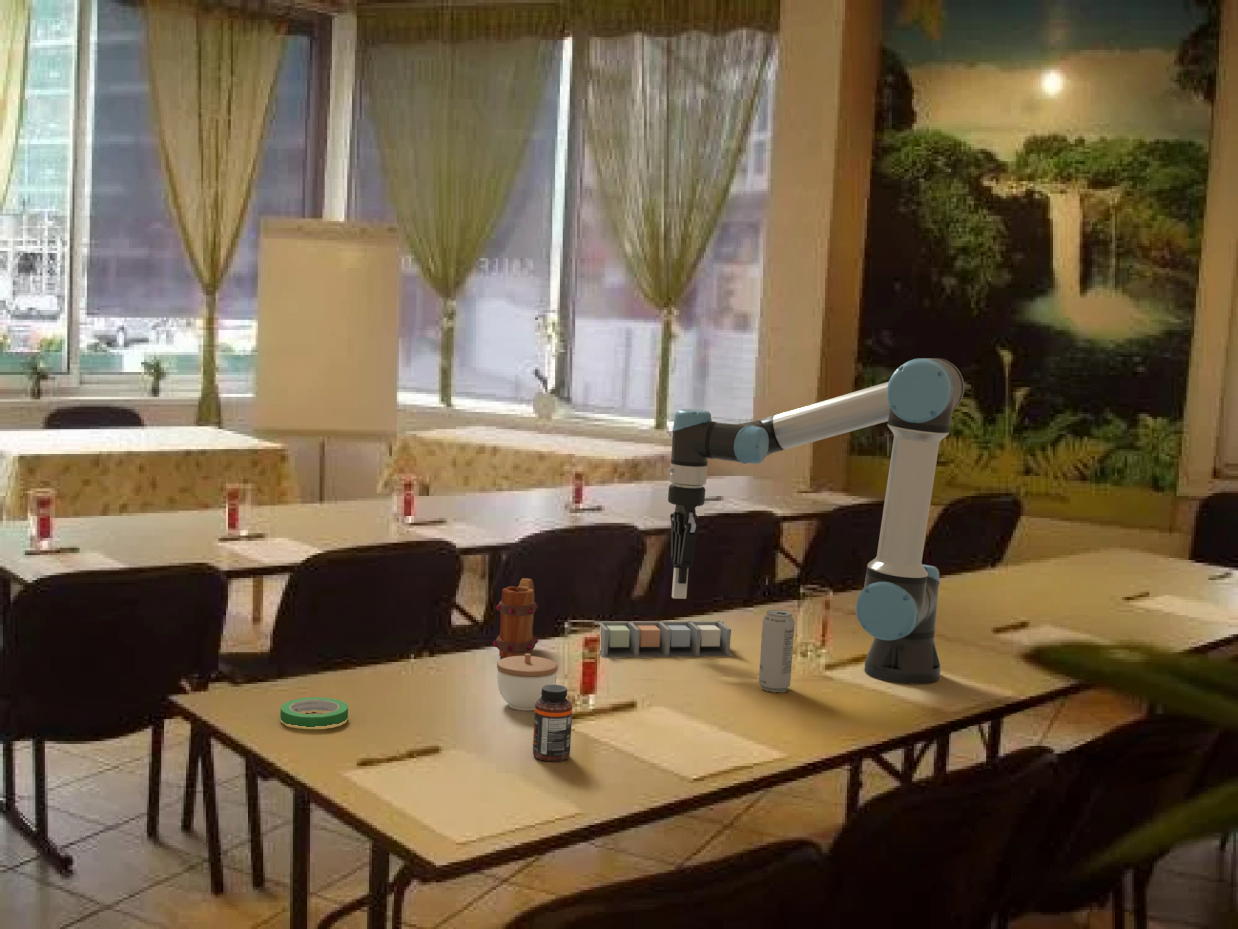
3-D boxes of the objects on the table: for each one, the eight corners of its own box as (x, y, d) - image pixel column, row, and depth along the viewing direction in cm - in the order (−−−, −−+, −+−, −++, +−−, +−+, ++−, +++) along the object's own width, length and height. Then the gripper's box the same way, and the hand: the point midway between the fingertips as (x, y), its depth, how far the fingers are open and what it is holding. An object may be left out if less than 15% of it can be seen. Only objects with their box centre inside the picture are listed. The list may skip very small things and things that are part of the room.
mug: (528, 666, 281) (531, 591, 279) (488, 661, 282) (491, 587, 281) (546, 649, 295) (550, 577, 293) (508, 645, 297) (512, 574, 295)
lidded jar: (509, 717, 247) (511, 664, 246) (485, 700, 256) (488, 649, 255) (565, 711, 252) (568, 659, 251) (540, 695, 261) (542, 645, 260)
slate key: (689, 646, 294) (690, 630, 294) (671, 646, 293) (672, 630, 293) (684, 641, 298) (685, 625, 298) (665, 641, 297) (666, 625, 297)
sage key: (628, 647, 291) (629, 630, 291) (609, 647, 290) (610, 630, 290) (624, 642, 295) (624, 625, 295) (605, 642, 294) (606, 625, 294)
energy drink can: (764, 683, 278) (769, 607, 276) (794, 688, 275) (799, 612, 274) (753, 690, 273) (758, 613, 271) (783, 695, 270) (789, 617, 268)
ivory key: (719, 646, 296) (720, 629, 296) (701, 646, 295) (702, 629, 295) (713, 641, 300) (714, 625, 299) (695, 641, 299) (696, 625, 298)
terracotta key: (659, 646, 293) (660, 630, 292) (640, 646, 292) (641, 630, 291) (654, 642, 297) (655, 625, 296) (635, 642, 296) (636, 625, 295)
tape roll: (317, 736, 231) (317, 720, 231) (266, 723, 237) (266, 707, 236) (361, 720, 241) (361, 705, 241) (311, 708, 246) (311, 693, 246)
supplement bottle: (531, 750, 229) (535, 681, 228) (568, 751, 230) (572, 682, 229) (532, 762, 223) (536, 692, 222) (570, 763, 224) (574, 693, 223)
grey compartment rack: (733, 660, 294) (735, 630, 293) (601, 662, 287) (603, 631, 286) (718, 648, 304) (720, 619, 303) (590, 649, 297) (592, 620, 296)
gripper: (661, 479, 297) (653, 590, 300) (678, 489, 285) (670, 604, 288) (695, 480, 299) (687, 591, 302) (714, 490, 287) (705, 605, 290)
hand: (678, 597), depth 295 cm, fingers closed
